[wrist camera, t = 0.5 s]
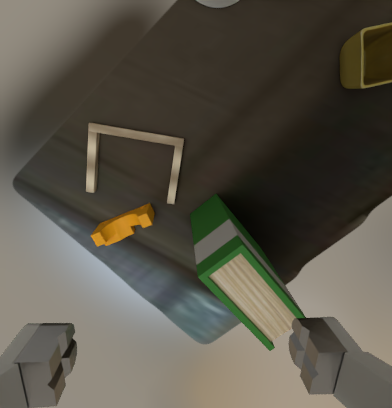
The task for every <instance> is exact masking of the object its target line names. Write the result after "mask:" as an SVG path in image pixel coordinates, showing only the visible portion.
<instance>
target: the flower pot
mask: <svg viewBox="0 0 392 408" xmlns="http://www.w3.org/2000/svg"><path fill="white" fill-rule="evenodd" d="M339 58H340V82H341V84H342V86H343V87H345V88H348V89H360V88H368V87H373V86H377V85H381V84H386V83H390V82H392V22H391V23H386V24H382V25H377V26H373V27H368V28H364V29H362V30H361V31H359V32H358V33H357V34H355V35H354V36H353V37H351V38H350V39H349V40H347V41H346V42H345V44H344V45H343V46H342V49H341V52H340V57H339Z"/></svg>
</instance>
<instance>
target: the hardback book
mask: <svg viewBox="0 0 392 408" xmlns="http://www.w3.org/2000/svg"><path fill="white" fill-rule="evenodd" d="M190 218H191V225H192V233H193V241H194V249H195V257H196V265H197V273H198V278H199V279H200V280H201V281H202V282H203V283H204V284H205V285H206V286H207V287H208V288H209V289H210V290H211V291H212V292H213V293H214V294H215V295H216V296H217V297H218V298H219V299H220V300H221V301H222V302H223V303H224V304H225V305H226V306H227V307H228V308H229V310H230V311H231V312H232V313H233V314H234V315H235V316H236V317H237V318H238V319H239V320H240V321H241V322H242V323H243V324H244V325H245V326H246V327H247V328H248V329H249V330H250V331H251V332H252V333H253V334H254V335H255V336H256V337H257V338H258V339H259V340H260V341H261V342H262V343H263V344H264V345H265V346H266V348H268V350H270V351H271V350H272V349H274V348H275V347H274V345H273V342H272V341H273V340H274V339H276V338H277V337H279V336H280V335H282V334H284V333H285V332H287V331H288V330H290V329H291V328H292V327H291V326H292V321H293V320H294V318H306V317H305V316H304V314H303V312H302V311H301V309H300V308H299V306H298V305H297V303H296V302H295V300H294V299H293V297H292V295H291V294H290V292H289V291H288V289H287V288H286V286H285V285H284V283H283V282H282V280H281V278H280V277H279V275H278V274H277V272H276V271H275V269H274V268H273V266H272V264H271V263H270V261H269V260H268V258H267V257H266V255H265V254H264V252H263V251H262V249H261V248H260V246H259V245H258V244H257V243H256V241H255V240H254V239H253V238H252V237H251V235H250V234H249V233H248V232H247V231H246V229H245V228H244V227H243V226H242V224H241V223H240V222H239V221H238V220H237V218H236V217H235V216H234V215H233V213H232V212H231V211H230V210H229V209H228V207H227V206H226V205H225V204H224V203H223V201H222V200H221V199H220V198H219V196H218V195H217V194H215V195H214V196H212V197H211V198H210V199H209V200H207V201H206V202H205V203H204V204H202V205H201V206H200V207H198V208H197V209H196V210H195V211H193V212H192V213H191V214H190Z"/></svg>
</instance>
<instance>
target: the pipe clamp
mask: <svg viewBox="0 0 392 408" xmlns="http://www.w3.org/2000/svg"><path fill="white" fill-rule="evenodd" d="M154 215H155V213H154V211H153V209H152V206H151V204H150V203H149V204H146V205H144V206H142V207H139V208H137V209H134V210H132V211H129V212H127V213H124V214H122V215H119V216H117V217H114V218H112V219H109V220H107V221H105V222H102V223H100V224H99V225H98V227H97V228H96V229H95V231H94V232H93V233H92V235H91V237H92V239H93V240H94V242H95V244H96V245H97V246H100V245H102V244H105V246H107V245H110V244H112V243H115V242H117V241H120V240H122V239H123V238H125V237H127V236H129V235H131V234H134V232H135V227H134V225H142V227H143V228H145V227H147V226H150V225H152V223H153V219H154Z"/></svg>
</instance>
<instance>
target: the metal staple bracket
mask: <svg viewBox="0 0 392 408" xmlns="http://www.w3.org/2000/svg"><path fill="white" fill-rule="evenodd" d="M100 133H103V134H109V135H115V136H121V137H127V138H133V139H139V140H145V141H151V142H156V143H162V144H168V145H174V146H175V151H174V158H173V165H172V172H171V179H170V186H169V193H168V200H167V203H170V204H174V201H175V195H176V188H177V182H178V175H179V169H180V162H181V156H182V149H183V143H184V138H178V137H172V136H166V135H161V134H155V133H149V132H143V131H137V130H132V129H126V128H120V127H114V126H109V125H103V124H97V123H89V132H88V156H87V179H86V192H92V193H94V192H95V191H96V190H97V174H98V155H99V137H100Z"/></svg>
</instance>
